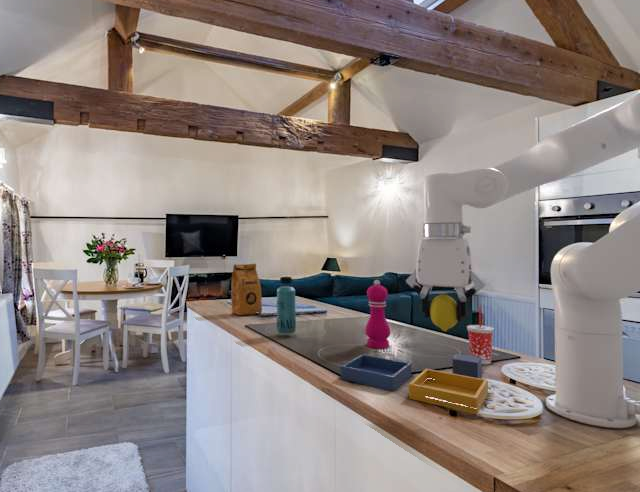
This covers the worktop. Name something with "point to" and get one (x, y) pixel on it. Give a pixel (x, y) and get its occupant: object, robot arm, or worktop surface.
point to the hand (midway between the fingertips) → (444, 317)
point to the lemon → (443, 311)
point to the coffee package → (245, 290)
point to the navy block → (467, 366)
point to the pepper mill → (377, 317)
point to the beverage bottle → (286, 307)
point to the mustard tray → (449, 390)
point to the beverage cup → (481, 341)
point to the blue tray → (376, 372)
